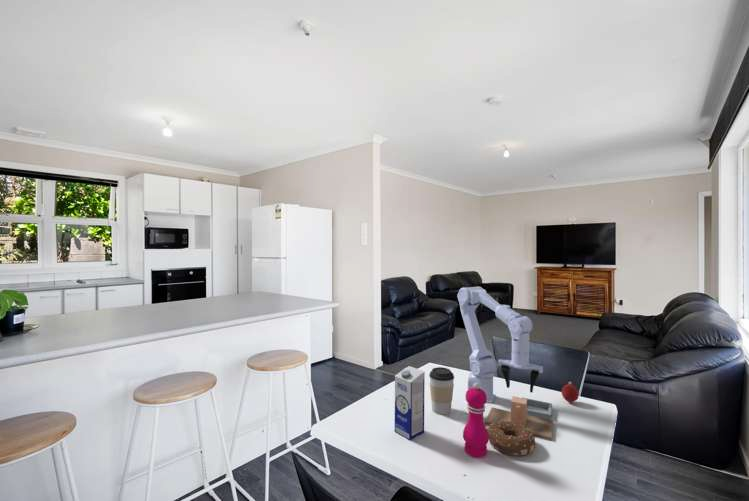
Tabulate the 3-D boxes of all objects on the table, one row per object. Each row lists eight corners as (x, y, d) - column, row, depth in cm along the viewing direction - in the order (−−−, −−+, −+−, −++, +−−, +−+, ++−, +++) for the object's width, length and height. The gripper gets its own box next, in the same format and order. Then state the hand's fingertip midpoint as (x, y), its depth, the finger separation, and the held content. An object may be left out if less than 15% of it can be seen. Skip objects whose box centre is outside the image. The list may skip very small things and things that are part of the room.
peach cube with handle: (512, 416, 121) (512, 396, 121) (527, 419, 119) (527, 399, 119) (510, 423, 116) (510, 402, 116) (525, 427, 113) (525, 406, 113)
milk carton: (424, 433, 111) (425, 370, 111) (410, 440, 107) (410, 375, 107) (408, 424, 117) (408, 365, 117) (394, 431, 112) (394, 369, 112)
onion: (577, 407, 130) (577, 386, 130) (560, 403, 134) (560, 382, 134) (579, 402, 135) (579, 381, 135) (562, 398, 138) (563, 378, 138)
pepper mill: (469, 441, 107) (469, 376, 106) (492, 450, 102) (493, 382, 102) (458, 452, 101) (459, 383, 101) (482, 462, 96) (483, 390, 96)
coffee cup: (452, 405, 131) (452, 365, 131) (455, 416, 122) (455, 374, 122) (428, 404, 132) (428, 364, 132) (429, 415, 123) (429, 373, 123)
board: (484, 424, 117) (484, 421, 117) (491, 409, 128) (491, 407, 128) (551, 440, 107) (551, 437, 107) (553, 423, 118) (553, 420, 118)
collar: (518, 413, 125) (518, 408, 125) (521, 402, 134) (521, 397, 134) (550, 420, 120) (550, 415, 120) (552, 408, 129) (552, 403, 129)
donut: (499, 429, 115) (499, 413, 115) (542, 446, 105) (542, 429, 105) (477, 446, 105) (477, 429, 105) (522, 466, 95) (523, 448, 95)
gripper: (496, 350, 124) (496, 388, 124) (541, 357, 116) (541, 397, 117) (500, 345, 130) (500, 382, 130) (543, 352, 123) (542, 390, 123)
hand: (519, 389), depth 124 cm, fingers open, 7 cm apart
